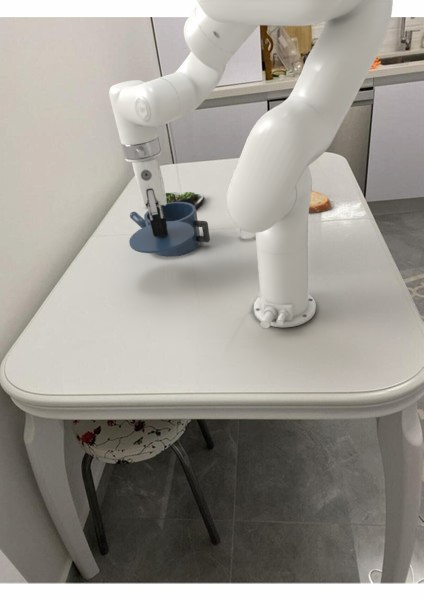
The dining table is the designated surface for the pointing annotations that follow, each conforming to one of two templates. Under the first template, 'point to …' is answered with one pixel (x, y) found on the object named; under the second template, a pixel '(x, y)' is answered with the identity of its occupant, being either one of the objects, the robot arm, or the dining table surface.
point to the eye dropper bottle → (247, 234)
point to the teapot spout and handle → (203, 224)
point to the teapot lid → (162, 238)
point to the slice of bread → (319, 203)
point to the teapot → (182, 214)
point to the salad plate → (185, 198)
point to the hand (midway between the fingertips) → (160, 230)
